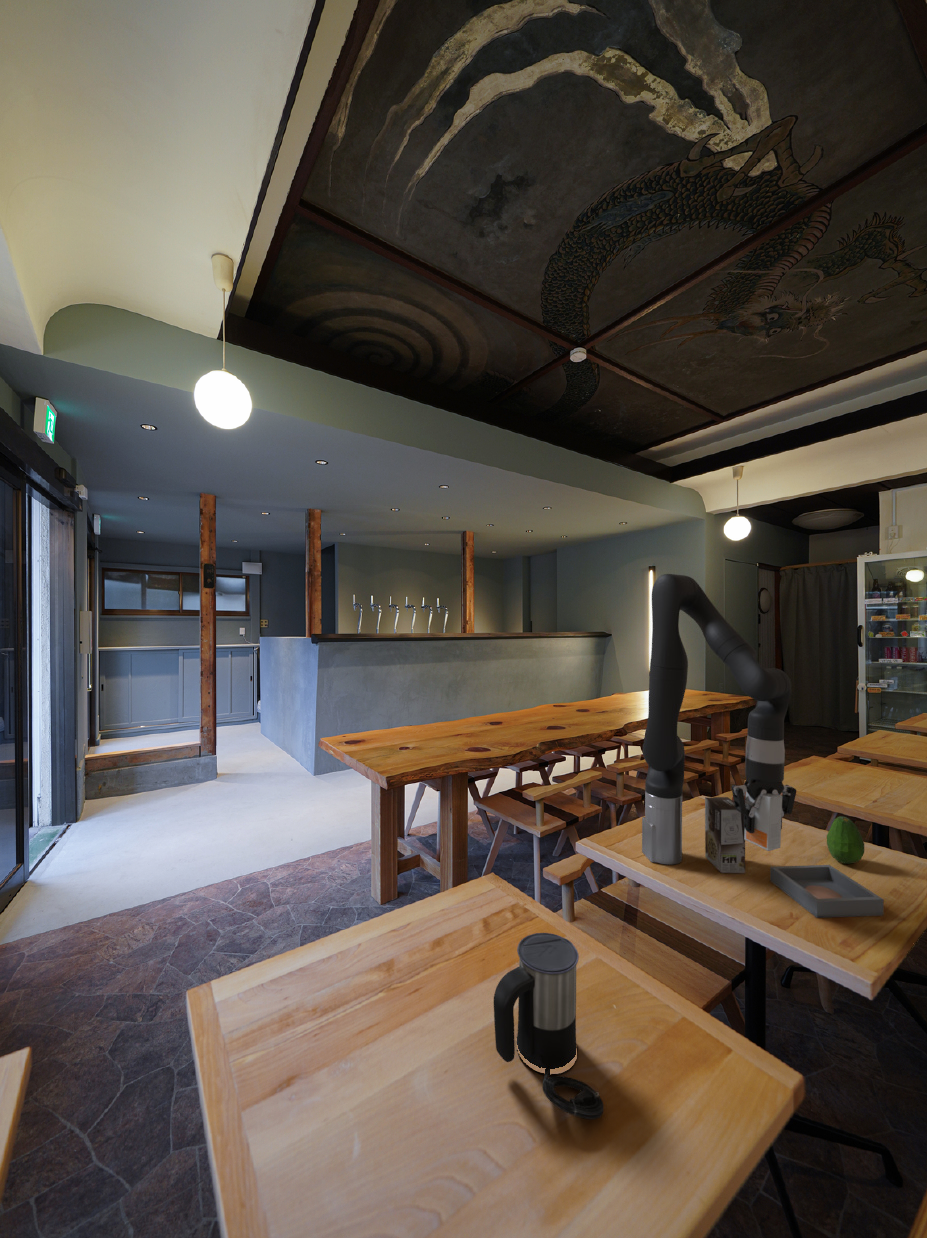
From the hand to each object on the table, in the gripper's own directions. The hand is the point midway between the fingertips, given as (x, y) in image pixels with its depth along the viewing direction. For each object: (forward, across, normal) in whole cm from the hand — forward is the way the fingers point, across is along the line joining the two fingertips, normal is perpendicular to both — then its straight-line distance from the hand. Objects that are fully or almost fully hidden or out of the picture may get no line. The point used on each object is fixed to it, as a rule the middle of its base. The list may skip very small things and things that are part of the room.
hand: (762, 831), depth 115 cm
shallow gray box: (+16, +16, +1) cm, 22 cm away
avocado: (+16, +33, +16) cm, 40 cm away
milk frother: (+17, -56, -40) cm, 71 cm away
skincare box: (+3, 0, 0) cm, 3 cm away
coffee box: (+16, +1, +17) cm, 23 cm away
